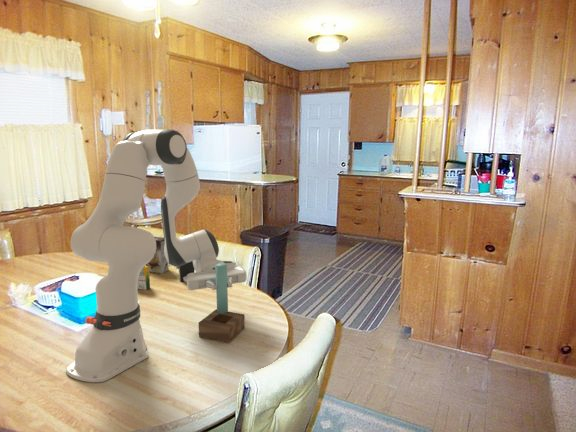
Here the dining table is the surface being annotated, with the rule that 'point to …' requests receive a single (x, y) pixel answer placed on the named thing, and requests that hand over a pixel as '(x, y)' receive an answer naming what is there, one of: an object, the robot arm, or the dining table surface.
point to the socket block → (221, 326)
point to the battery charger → (185, 270)
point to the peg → (221, 288)
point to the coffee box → (158, 258)
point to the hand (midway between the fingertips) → (222, 286)
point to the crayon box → (144, 279)
